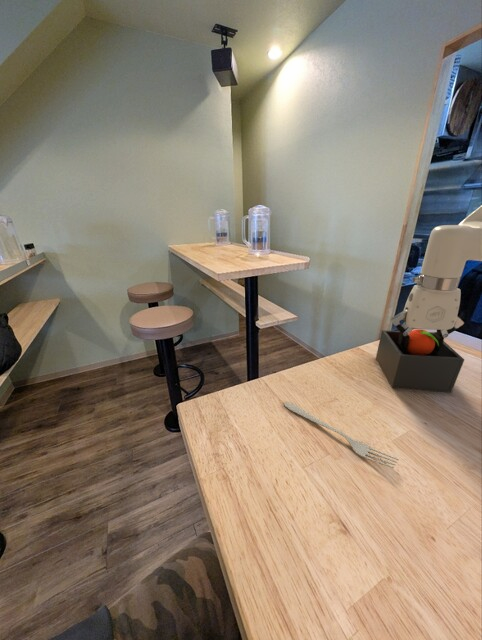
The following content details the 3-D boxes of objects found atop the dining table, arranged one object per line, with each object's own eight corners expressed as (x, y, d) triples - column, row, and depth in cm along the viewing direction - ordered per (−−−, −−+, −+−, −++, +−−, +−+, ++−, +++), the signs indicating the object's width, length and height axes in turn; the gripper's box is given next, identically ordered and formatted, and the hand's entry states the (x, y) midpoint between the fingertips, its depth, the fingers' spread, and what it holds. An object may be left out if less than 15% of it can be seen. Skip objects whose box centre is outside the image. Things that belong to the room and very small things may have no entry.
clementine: (441, 357, 65) (449, 333, 62) (426, 366, 62) (434, 341, 59) (409, 344, 71) (415, 322, 68) (394, 352, 68) (400, 328, 65)
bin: (424, 361, 74) (434, 332, 70) (451, 392, 62) (464, 359, 58) (375, 358, 77) (381, 330, 72) (391, 388, 64) (400, 355, 60)
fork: (288, 400, 62) (288, 394, 61) (397, 464, 46) (399, 457, 45) (280, 406, 60) (280, 401, 59) (391, 476, 44) (393, 469, 43)
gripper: (403, 286, 56) (387, 353, 64) (492, 287, 53) (464, 357, 61) (391, 277, 63) (377, 339, 71) (469, 277, 60) (447, 342, 68)
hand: (418, 347), depth 66 cm, fingers closed on clementine, 6 cm apart
